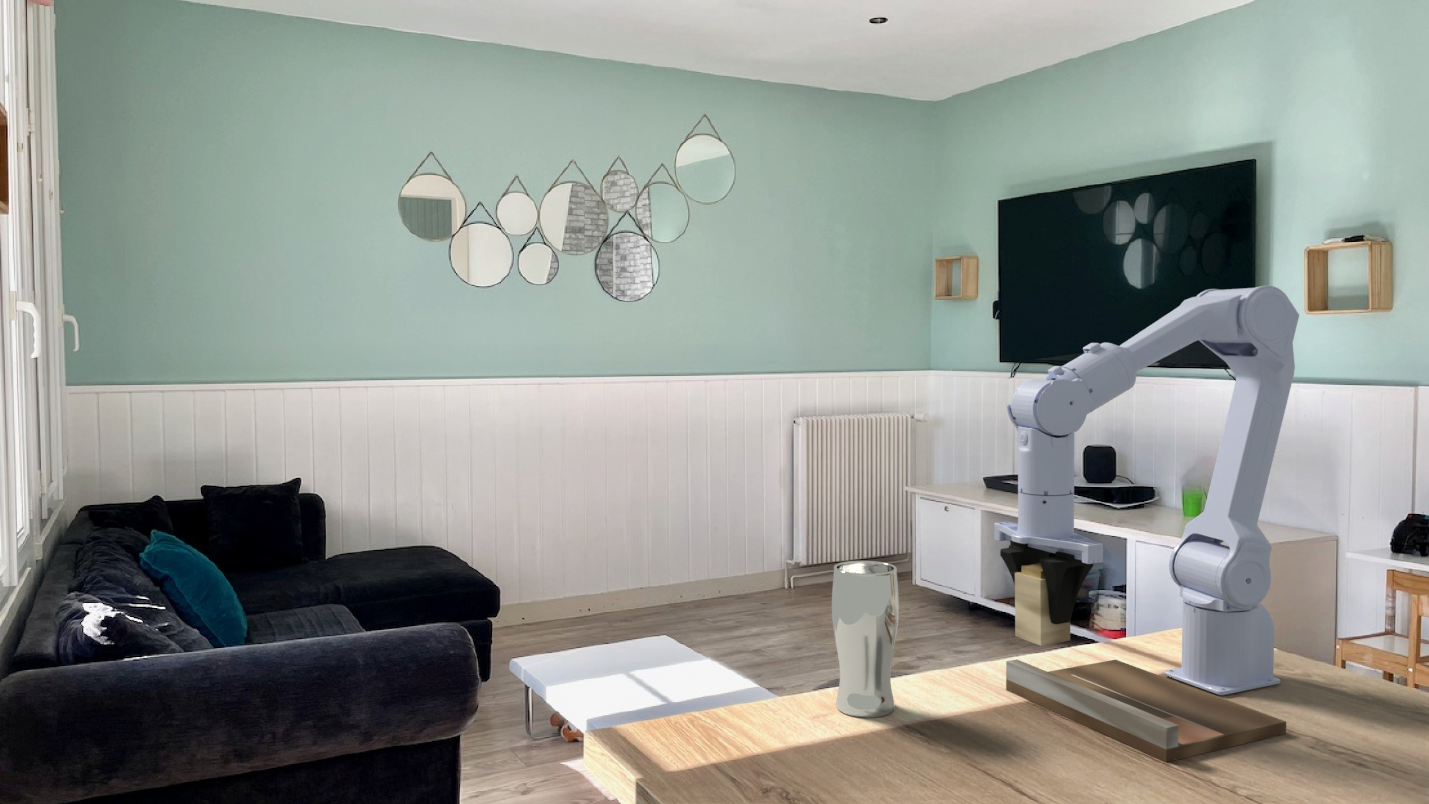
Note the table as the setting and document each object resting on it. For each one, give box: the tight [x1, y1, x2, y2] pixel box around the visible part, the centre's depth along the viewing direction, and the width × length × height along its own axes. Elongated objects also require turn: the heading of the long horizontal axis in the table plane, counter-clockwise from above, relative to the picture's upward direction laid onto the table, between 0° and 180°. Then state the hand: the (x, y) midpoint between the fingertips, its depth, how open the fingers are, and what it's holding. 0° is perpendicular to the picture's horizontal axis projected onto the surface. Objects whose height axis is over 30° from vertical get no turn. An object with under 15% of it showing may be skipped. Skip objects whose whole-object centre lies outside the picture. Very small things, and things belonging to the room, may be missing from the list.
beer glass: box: [831, 560, 900, 719], centre depth 111 cm, size 7×7×15 cm
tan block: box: [1014, 563, 1071, 647], centre depth 114 cm, size 4×4×8 cm
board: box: [1005, 659, 1287, 763], centre depth 110 cm, size 16×22×3 cm
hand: (1045, 617), depth 114 cm, fingers closed on tan block, 4 cm apart
